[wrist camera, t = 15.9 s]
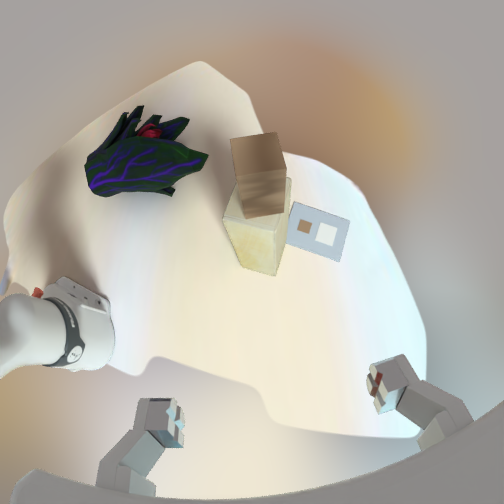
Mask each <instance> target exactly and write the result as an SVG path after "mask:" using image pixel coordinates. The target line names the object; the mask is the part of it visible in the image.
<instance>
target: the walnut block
mask: <svg viewBox="0 0 504 504" xmlns="http://www.w3.org/2000/svg"><path fill="white" fill-rule="evenodd" d="M230 143H231V149H232V156H233V162H234V169H235V175H236V180H237V184H238V189H239V193H240V197H241V201H242V206H243V210H244V214H245V219H250V218H256V217H262V216H268V215H274V214H280V213H284V205H285V189H286V171H287V168H286V164H285V161H284V157H283V154H282V150H281V146H280V143H279V139H278V136H277V133H276V132H272V133H265V134H258V135H252V136H246V137H240V138H234V139H230Z"/></svg>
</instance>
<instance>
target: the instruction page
mask: <svg viewBox="0 0 504 504" xmlns="http://www.w3.org/2000/svg"><path fill="white" fill-rule="evenodd" d="M349 224H350V221H348V220H345V219H343V218H340V217H337V216H334V215H331V214H329V213H326V212H323V211H320V210H317V209H314V208H311V207H308V206H305V205H302V204H299V203H296V202H294V205H293V208H292V210H291V213H290V216H289V219H288V230H287V239H286V244H289V245H292V246H295V247H298V248H300V249H303V250H306V251H309V252H312V253H315V254H318V255H320V256H323V257H326V258H329V259H332V260H335V261H337V262H340V258H341V254H342V251H343V247H344V243H345V239H346V236H347V232H348V228H349Z"/></svg>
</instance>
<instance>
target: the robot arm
mask: <svg viewBox="0 0 504 504" xmlns="http://www.w3.org/2000/svg"><path fill="white" fill-rule="evenodd" d="M100 301H101V303H100V304H99V302H100ZM114 344H115V335H114V329H113V325H112V322H111V319H110V303H109V301H108V300H107V299H105V298H103V297H101V296H99V295H97V294H96V293H94V292H92V291H90V290H88V289H86V288H85V287H83V286H81V285H79V284H78V283H76V282H74V281H72V280H71V279H69V278H67V277H64V276H63V277H61V278H59V279H58V280H57V281H56V282H55V283H54V284H50V285H48V286H47V287H46V288H45V289H44V290H43V291H42V290H41V289H39V288H37V287H36V288H35V289H34V293H33V294H32V296H30V295H26V294H23V293H15V294H11V295H9V296H7V297H5V298H4V299H3V300H2V301H1V302H0V379H1V378H2V377H4V376H5V375H6V374H8V373H9V372H10V371H12V370H14V369H16V368H18V367H21V366H29V365H43V366H47V367H57V368H67V369H68V370H69V371H72V372H75V371H78V370H81V369H84V370H97V369H100V368H101V367H103V366H104V365H105V364H106V363H107V362H108V361H109V359H110V358H111V355H112V353H113V350H114ZM369 370H370V373H369V374H368V375H367V380H366V381H367V388H368V391H369V394H370V395H371V396H373V397H374V398H375V399H374V405H375V408H376V410H377V412H378V415H379V414H382V413H385V412H388V411H391V410H393V409H396V410H397V411H398V412H400V413H401V414H402V415H404V416H405V417H407V418H408V419H409V420H411V421H412V422H413V423H415V424H416V425H418V426H419V427H421V428H422V429H423V430H424V431H423V433H422V434H421V435H420V436H419V438H418V440H417V442H418V445H419V447H420V449H421V451H420V452H418V453H416V454H414V455H412V456H409V457H407V458H405V459H403V460H400V461H398V462H395V463H393V464H391V465H388V466H385V467H383V468H380V469H378V470H375V471H372V472H369V473H366V474H363V475H360V476H357V477H354V478H350V479H347V480H344V481H340V482H336V483H332V484H329V485H324V486H321V487H316V488H312V489H307V490H301V491H297V492H290V493H284V494H278V495H270V496H262V497H253V498H240V499H216V500H214V499H212V500H202V499H176V498H163V497H155V492H156V485H155V484H154V483H153V482H151V481H149V480H148V479H146V476H147V475H148V473H149V472H150V470H151V469H152V468H153V466H154V465H155V463H156V462H157V460H158V459H159V458H160V456H161V455H162V453H163V452H164V450H165V448H183V445H184V434H183V433H182V432H181V430H182V429H183V428H184V426H185V418H184V413H183V410H182V409H181V407H179V406H177V401H176V400H175V398H141V399H140V400H139V402H138V406H137V411H136V416H135V421H134V426H133V430H129V431H128V432H127V434H125V436H124V437H123V438H122V439H121V440H120V441H119V442H118V443H117V444H116V445H115V446H114V447H113V448H112V449H111V450H110V451H109V452H108V453H107V455H106V456H105V457H104V458H103V459H102V460H101V461H100V463H99V469H98V474H97V480H96V485H95V486H92V485H89V484H85V483H81V482H78V481H74V480H71V479H68V478H64V477H61V476H58V475H55V474H53V473H50V472H47V471H45V470H42V469H38V468H37V469H33V470H31V471H30V472H29V473H27V474H26V475H25V476H23V477H22V478H21V479H20V480H19V481H18V482H17V483H16V485H15V487H14V489H13V492H12V495H11V499H10V503H9V504H504V400H503V401H502V402H501V403H499V404H498V405H497V406H495V407H494V408H493V409H491V410H490V411H489V412H487V413H486V414H484V415H483V416H481V417H480V418H478V419H477V420H475V421H474V420H473V418H472V416H471V415H470V413H469V411H468V409H467V408H466V406H465V404H464V403H463V401H462V400H461V399H459V398H457V397H455V396H453V395H451V394H449V393H447V392H445V391H443V390H441V389H439V388H438V387H436V386H433V385H432V384H430V383H428V382H426V381H424V380H421V381H420V380H419V378H418V376H417V375H416V373H415V371H414V370H413V368H412V366H411V365H410V363H409V362H408V360H407V358H406V357H405V355H403V354H400V355H397V356H395V357H391V358H388V359H385V360H382V361H379V362H376V363H373V364H371V365H370V368H369Z"/></svg>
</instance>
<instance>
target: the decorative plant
mask: <svg viewBox="0 0 504 504" xmlns="http://www.w3.org/2000/svg"><path fill="white" fill-rule="evenodd" d="M143 108H144V105H143V106H137V107H136V108H135V110H134V111H133V112H132V113H131V114H130V115H129V117H128V118H127V114H129V113H128V112H124V113H123V114H122V115H121V117H120V119H119V121H118V122H117V124H116V126H115V127H114V129H113V130H112V132H111V133H110V134H109V136H108V137H107V138H106V140H105V141H104V142H103V144H102V145H101V146H99V147H98V148H97V149H96V150H95V151H94V152H92V153H91V154H90V155H89V156H88V157H87V163H86V164H85V165H84V167H85V172H86V177H87V182H88V186H89V188H90V189H91V191H92V192H93V193H94V194H96V195H99V196H102V197H110V196H113V195H115V194H118V193H121V192H137V191H140V192H156V193H161V194H165V195H168V196H171V197H172V195H173V193H174V192H175V190H176V189H173V188H172V187H171V185H173V184H174V183H175V182H176V181H178V180H179V179H180V178H182V177H184V176H186V175H189V174H192V173H195V172H198V171H200V170H201V169H202V168H203V166H204V164H205V162H206V160H207V158H208V156H209V155H208V154H205V153H202V152H198V151H195V150H192V149H189V148H187V147H186V146H184V145H183V144H182V143H179V142H176V141H174V140H175V139H176V138H177V137H178V136H179V135H180V134H181V133H182V131H183V130H184V129H185V127H186V126H187V125H188V123H189V120H190V119H187V118H185V117H179V118H176V119H173V120H170V121H167V122H163V123H159V121H160V118H161V117H162V116H161V115H152V116H151V117H150V118H149V119H148V120H147V121H146V122H145V123H144V124H143V125H142V126H141V127H140V128H139V129H138V130H137V131H135V128H136V127H137V125H138V123H139V122H140V121H141V120H140V118H141V116H142V112H143Z"/></svg>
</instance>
